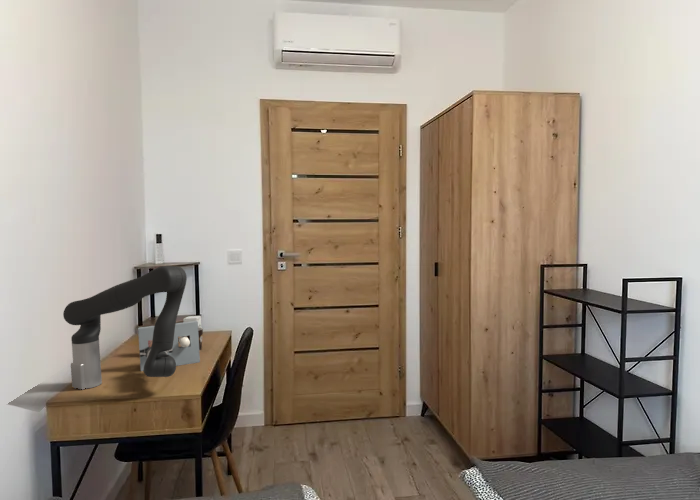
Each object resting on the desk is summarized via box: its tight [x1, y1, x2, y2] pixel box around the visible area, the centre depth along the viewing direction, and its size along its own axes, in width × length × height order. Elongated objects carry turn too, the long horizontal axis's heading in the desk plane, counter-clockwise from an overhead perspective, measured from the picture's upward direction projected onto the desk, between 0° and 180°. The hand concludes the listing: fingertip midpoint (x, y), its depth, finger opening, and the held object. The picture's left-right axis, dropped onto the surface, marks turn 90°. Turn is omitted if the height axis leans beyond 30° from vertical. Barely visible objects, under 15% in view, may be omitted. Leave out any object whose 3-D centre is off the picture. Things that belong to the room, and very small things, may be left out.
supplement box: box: [182, 315, 202, 328], centre depth 253 cm, size 7×7×13 cm
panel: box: [137, 321, 201, 372], centre depth 208 cm, size 9×24×18 cm, turn 115°
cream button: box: [178, 336, 190, 347], centre depth 207 cm, size 6×4×4 cm, turn 25°
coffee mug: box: [187, 327, 204, 351], centre depth 234 cm, size 12×9×10 cm
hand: (155, 346), depth 199 cm, fingers closed
